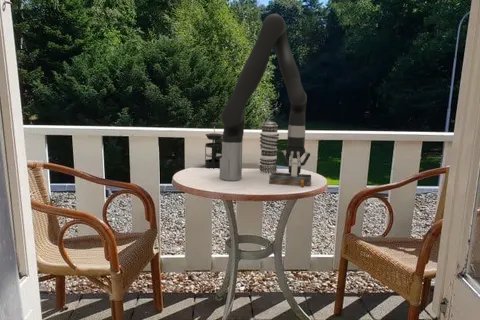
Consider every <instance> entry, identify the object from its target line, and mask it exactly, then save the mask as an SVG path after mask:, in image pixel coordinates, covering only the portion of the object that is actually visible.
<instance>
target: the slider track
mask: <svg viewBox="0 0 480 320" xmlns="http://www.w3.org/2000/svg"><path fill="white" fill-rule="evenodd" d="M289 175H290V176H289ZM297 176H300V177H293V176H291V174H290V173H289V172H278V171H276V172H271V175H269V180H268V184H270V185H281V186H282V185H284V186H298V187H300V188H304V187H308V188H309V187H311V184H312V183H311V182H312V175H311V174H304V173H300V174H299V175H297Z"/></svg>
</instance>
